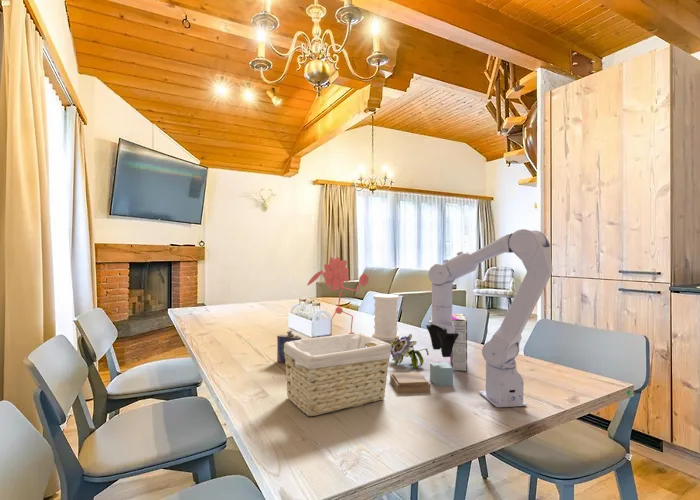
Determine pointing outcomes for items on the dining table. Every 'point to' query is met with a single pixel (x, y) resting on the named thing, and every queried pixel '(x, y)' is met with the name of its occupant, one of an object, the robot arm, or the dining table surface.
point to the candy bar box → (459, 343)
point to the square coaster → (409, 382)
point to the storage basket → (335, 372)
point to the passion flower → (405, 350)
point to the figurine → (338, 280)
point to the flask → (280, 345)
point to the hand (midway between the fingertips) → (441, 352)
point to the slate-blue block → (441, 374)
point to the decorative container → (385, 317)
